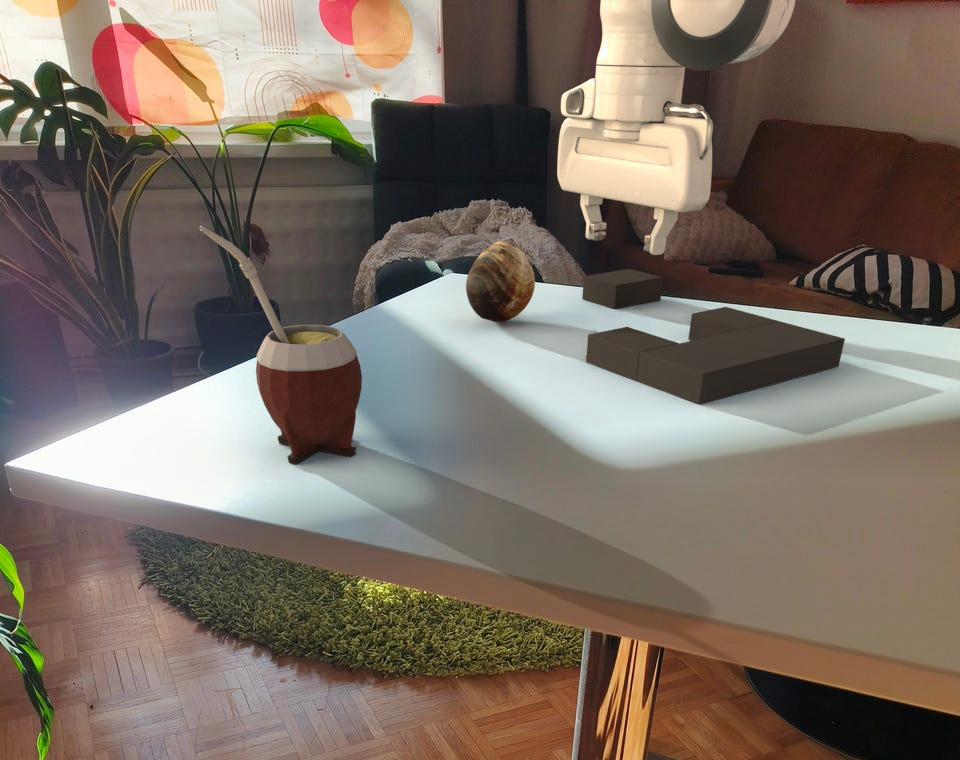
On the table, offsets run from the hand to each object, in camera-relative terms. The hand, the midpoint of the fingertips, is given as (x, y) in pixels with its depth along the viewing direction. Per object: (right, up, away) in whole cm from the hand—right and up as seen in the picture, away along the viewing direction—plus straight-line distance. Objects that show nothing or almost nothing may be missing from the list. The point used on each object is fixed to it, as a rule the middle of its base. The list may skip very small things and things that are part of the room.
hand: (623, 246), depth 98 cm
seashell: (-14, -10, -5) cm, 18 cm away
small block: (0, -5, +3) cm, 6 cm away
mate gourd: (-28, -30, -34) cm, 54 cm away
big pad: (+5, -18, -17) cm, 26 cm away
